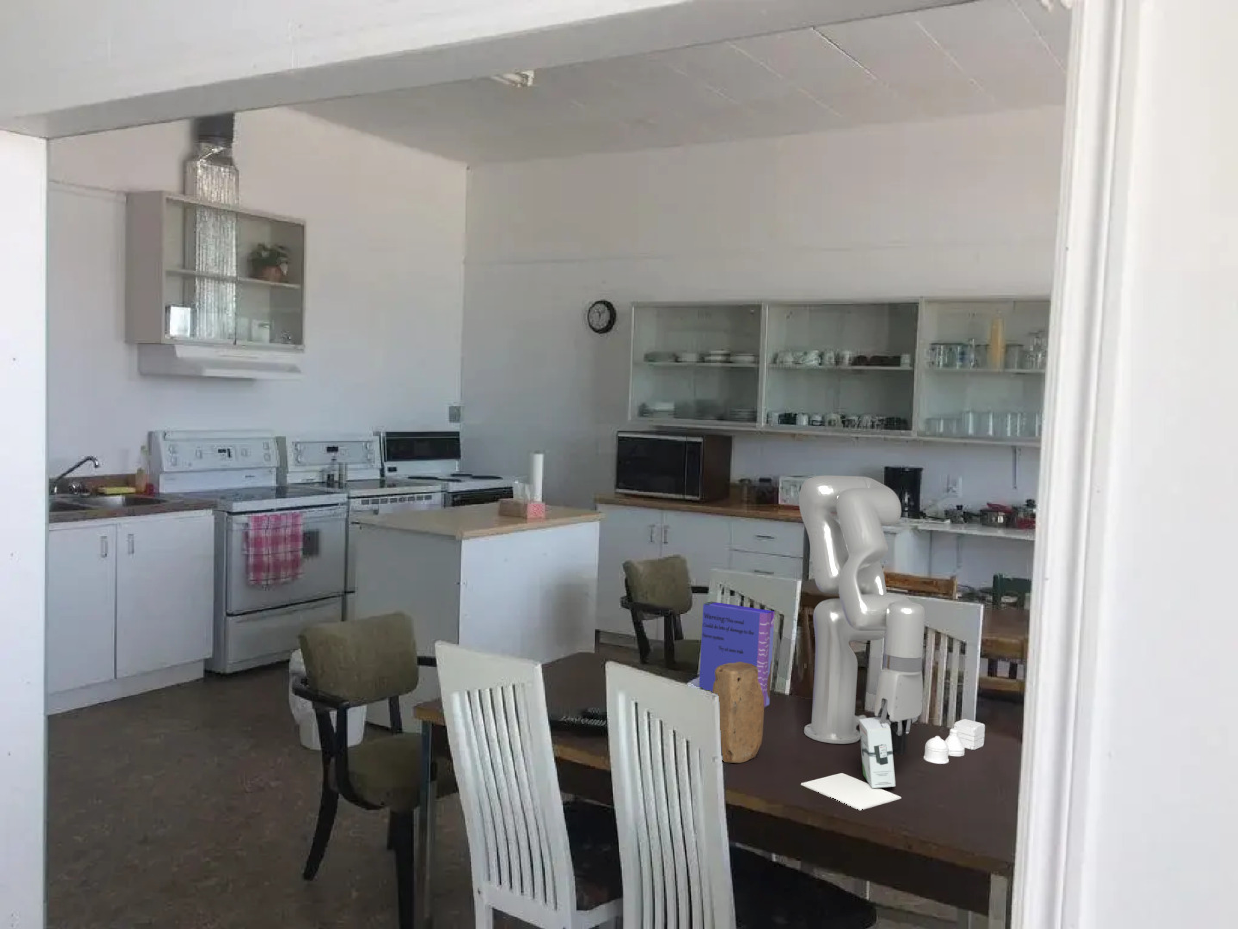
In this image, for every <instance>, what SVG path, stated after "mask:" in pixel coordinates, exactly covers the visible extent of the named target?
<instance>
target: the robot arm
mask: <svg viewBox="0 0 1238 929" xmlns="http://www.w3.org/2000/svg"><path fill="white" fill-rule="evenodd" d="M798 504H799V506H798V507H799V512H800V516H801V518H802V522H803V525H804V527H805V529H806V532H807V535H808V540H809V547H810V555H811V562H812V568H813V575H814V581H815V585H816V587H817V589H818V590H819V591H820V592H822V593H825V594H831V595H832V594H834V595H838V596H839V598H829V599H825V600H822V601H820V602H819V603H818V604H817V605H816V606H815V608H814V610H813V616H812V617H813V618H812V619H813V628H814V637H815V639H814V640H815V655H814V656H815V658H814V680H813V691H812V710H811V711H812V712H811V723H809V724H807V725H805V726H804V730H803V733H804V734H805V736H807V737H808V738H810V739H812V740H814V741H818V742H821V743H827V744H835V745H836V744H837V745H846V744H854V743H857V742H858V741H859V740H861V739H860V730H858V729H857V727H858V726H859V719H865V718H867V715H865V714H861V715H855V713H856V698H857V696H856V695H857V680H858V664H859V663H858V659H857V655H856V654H855V652H854V650H853V649H852V648H851V646H850V642H857V641H859V642H860V641H863V642H864V641H879V640H882V639H884V650H883V667H882V669H880V673H879V676H878V680H877V685H876V693H875V700H874V701H875V702H874V716H875V717H881V720H880V724H882V723H883V724H885V723H887V724H888V725H889V726H890V729H891V740H892V751H893V753H894V754H896V755H899V756H901V755H905V754H906V753H907V743H908V734H909V733H910V730H911V725H912V724H913V723H915V722H916V721H918V720H919V716H921V714H922V711H923V703H924V685H923V684H924V681H923V671H922V667H923V654H924V652H923V651H924V639H925V638H924V636H925V635H924V634H925V623H926V622H925V621H926V611H925V608H924V606H923V605H921V604H920V603H917V602H913V601H911V599H909V598H908V597H906V596H905V595H902V594H888V592H887V587H886V585H887V584H886V581H885V574H884V570H883V566H882V564H881V562H880V561H881V560H882V559H883V558H884V557H885V556H886V555H887V554H888V551H889V545H888V543H887V539H886V536H885V533H884V529H883V527H892V526H894V525H896V524H897V523H898V522H899V520H900V518H901V516H902V503H901V501H900V499H899V496H898V495H897V493H896V492H895V491H894V490H893V489H892V488H890V487H888V486H887V485H885V484H883V483H881V482H879V481H877V480H875V479H874V478H871V477H868V476H859V475H858V476H857V475H853V476H852V475H831V474H830V475H825V474H824V475H817V476H816V475H815V476H812V477H810V478H807V479H806V480H805V481H804V482H803V483H802V484H801V487H800V491H799V496H798ZM832 513H836V514H837V518H838V520H837V519H836V518H835V517H834V516H833V515H832Z"/></svg>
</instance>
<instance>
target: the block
mask: <svg viewBox="0 0 1238 929" xmlns="http://www.w3.org/2000/svg"><path fill="white" fill-rule="evenodd" d="M712 693H717V694H718V696H719V702H720V730H721V746H722V754H723V761H724V763H730V764H731V763H732V764H733V763H735V764H741V763H745V762H748V761H749V760H752V759H753V758H756V756H757V754H758V753H759V752H758V751H759V749H760V747H761V746H762V742H763V735H764V734H763V733H764V718H765V717H764V716H765V708H764V696H763V694H762V690H761V686H760V683H759V682H758V668H757V667H756V666H754V665H753V664H749V663H744V662H736V663H727V664H723V665H720V666H718V667H717V668H716V670H715V681H714V684H713V691H712ZM723 761H722V762H723Z"/></svg>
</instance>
